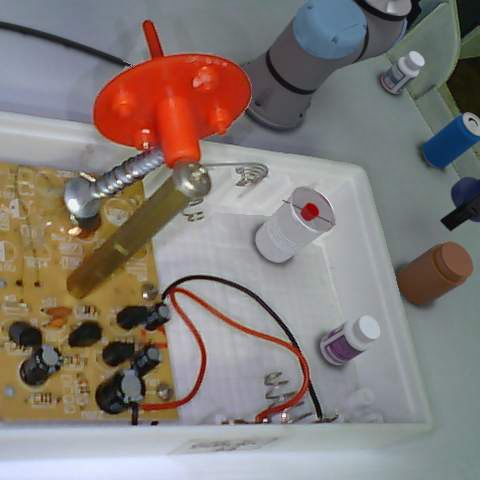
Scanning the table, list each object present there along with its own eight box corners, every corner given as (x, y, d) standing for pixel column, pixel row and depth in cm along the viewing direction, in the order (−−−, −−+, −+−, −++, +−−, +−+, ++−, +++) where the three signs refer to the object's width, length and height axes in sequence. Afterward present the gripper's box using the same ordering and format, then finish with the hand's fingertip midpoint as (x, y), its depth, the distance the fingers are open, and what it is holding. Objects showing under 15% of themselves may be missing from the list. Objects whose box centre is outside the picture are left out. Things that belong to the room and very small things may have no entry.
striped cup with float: (299, 235, 137) (340, 200, 128) (295, 275, 132) (338, 242, 123) (250, 213, 135) (288, 176, 125) (244, 253, 130) (284, 217, 120)
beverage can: (445, 154, 168) (487, 121, 159) (443, 175, 164) (486, 142, 155) (421, 139, 167) (462, 105, 158) (418, 160, 163) (460, 126, 154)
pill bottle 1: (349, 367, 128) (387, 345, 120) (322, 364, 125) (359, 342, 118) (342, 336, 130) (380, 313, 123) (316, 333, 128) (352, 309, 121)
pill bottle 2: (398, 80, 174) (426, 54, 167) (400, 97, 171) (429, 71, 164) (379, 71, 173) (406, 44, 166) (381, 89, 170) (408, 62, 163)
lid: (489, 229, 142) (498, 222, 140) (452, 212, 139) (461, 205, 138) (484, 193, 146) (493, 186, 145) (448, 176, 144) (457, 170, 142)
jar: (402, 303, 140) (446, 276, 132) (392, 264, 144) (434, 235, 136) (436, 308, 144) (481, 282, 135) (425, 269, 147) (468, 241, 139)
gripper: (552, 100, 135) (458, 172, 153) (517, 155, 122) (418, 227, 139) (584, 130, 135) (486, 199, 152) (553, 189, 121) (449, 257, 139)
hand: (454, 212), depth 146 cm, fingers closed on lid, 8 cm apart
